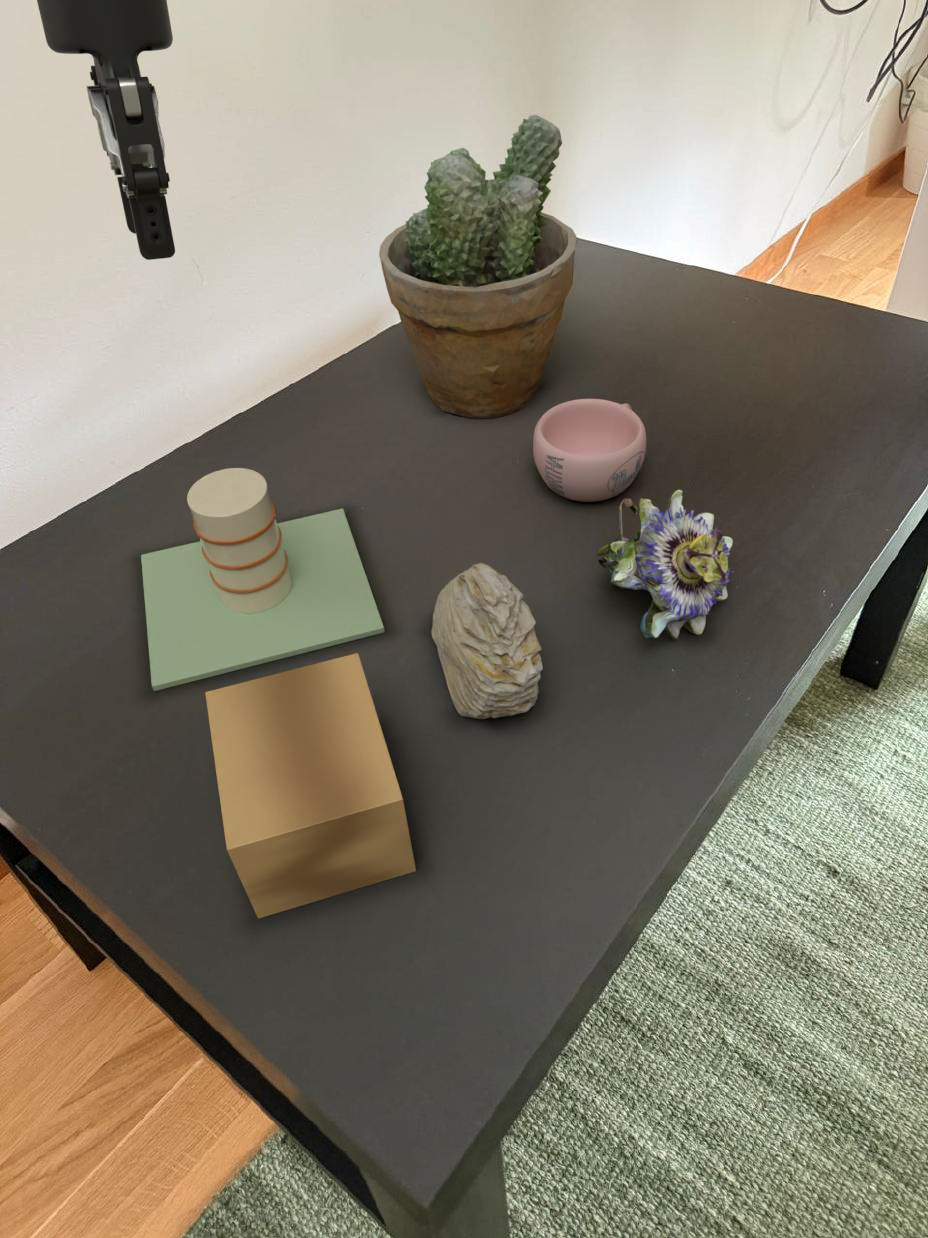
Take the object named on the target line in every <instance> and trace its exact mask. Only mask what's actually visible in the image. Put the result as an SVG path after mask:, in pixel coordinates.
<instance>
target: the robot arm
mask: <svg viewBox="0 0 928 1238" xmlns="http://www.w3.org/2000/svg"><path fill="white" fill-rule="evenodd" d="M36 2H37V8H38V11H39V15H40V18H41V24H42V28H43V29H42V30H43V32H44V37H45V41H46V45H47V46H48V47H49V49H50V50H51V51H53V52H55V53H56V54H65V55H84V54H85V55H87V54H88V55H91V57H92V58H93V59H92V60H93V65H90V71H89V76H90V80H91V81H93V85H86V92H87V96H88V97H87V98H88V102H89V105H90V109H91V113H92V116H93V117H94V119H95V120H96V124H97V130H98V134H99V138H100V143H101V146H102V149H103V151H105V152H106V156H107V157H108V158H109V161H110V162H109V164H110V165H109V166H110V170H111V171H113V173H114V174H113V175H114V176H117V177H116V180H117V183H118V189H119V195H120V198H121V203H122V208H123V212H124V216H125V223H126V226H127V229H128V230H129V232H131V233H132V234H134V235H135V236H136V241H137V245H138V246H137V247H138V250H139V254H140V255H141V257H142V258H143V259H145V260H146V261H147V260H148V261H151V260H161V259H169V258H172V257H174V256H175V253H176V247H175V242H174V236H173V235H174V234H173V230H172V225H171V219H170V215H169V208H168V204H167V199H166V198H167V197H166V195H168V189H169V188H170V187H169V183H170V182H171V179H170V174H169V172H167V168H166V167H167V166H166V163H165V159H166V149H165V141H164V135H163V133H162V129H161V125H160V120H159V117H160V110H159V99H158V96H157V92H156V87H155V85H152V83H150V80H149V77H148V76H142V73H141V70H140V65H139V62H138V58H139V55H140V54H141V53H142V52H143V53H144V52H154V51H162V50H163V51H164V50H166V49H169V48H170V47H171V46H172V44H173V41H174V36H173V29H172V24H171V20H170V18H171V17H170V13H169V6H168V0H36Z"/></svg>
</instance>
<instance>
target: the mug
mask: <svg viewBox="0 0 928 1238" xmlns="http://www.w3.org/2000/svg"><path fill="white" fill-rule="evenodd" d="M632 409H633V408H632V406H631V405H630V404H629V403H621V404H620V403H618V402H615V401H611V400H607V399H601V398H579V399H573V400H568V401H565V402H561V403H559V404H557V405H555V406H553V407H551V408H549V409H548V410H547V411H545V412H544V414H542V415H541V417H540V418H539V419H538V420H537V422H536V424H535V427H534V431H533V435H532V436H533V438H532V455H533V460H534V463H535V466H536V469H537V470H538V473H539V475H540V476H541V479H542V480H543V482H544V483H545V484H546V485H547V487H548V488H549V489H550V490H551V491H553V492H554V493H555V494H556V495H559V496H561V497H563V498H566V499H568V500H570V501H577V502H580V503H581V502H583V503H593V502H601V501H606V500H609V499H612V498H615V497H616V496H618V495H620V494H622V493H623V492H624V491H625V490H627V488H629V486H631V485H632V483H633V481H635V479H636V477H637V475H638V474H639V472H640V470H641V469H642V467H643V463H644V461H645V456H646V451H647V433H646V428H645V425H644V422H643V421H642V419H641V417H639V415H637V413H636V412H635V411H633V410H632Z"/></svg>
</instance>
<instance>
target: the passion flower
mask: <svg viewBox="0 0 928 1238" xmlns="http://www.w3.org/2000/svg"><path fill="white" fill-rule="evenodd" d="M682 502H683V490H681V489H677V490H675V491H674V492H673V493H672V494H671V495H670V496H669V498H668V500H667V502H666V510H665V512H664V511H662V512H660V509H659V508H658V507H657V506H654V505H653V503H652V500H651V499H649V498H643V497H641V498H639V500H638V507H639V509H638V507H637V506H636V505H635V503H634V501H633V499H632V498H623V499H622V501H621V503H620V504H619V506H618V526H619V527H618V530H619V536H618V537H617V538H615V539H614V540H612V541H611V542H609V543H607V544H606V545H604V546H601V548H600V549H599V550H598V551H597V553H596V555H597V557H601V556H602V558H601V559H598V560H597V563H598V564H599V565H600V566H602V568H604V569H606V570H608V572H609V573H610V578H611V579H610V584H611V586H615V587H616V588H619V589H627V590H633V591H638V590H641V591H642V590H643V591H646V592H648V593H649V594H650V595H651V597H652V602H651V605H650V607H649V609H648V610H647V612H645V613H644V615H643V616H642V619H641V622H640V631H641V634H642V636H643V637H644V638H645V639H646V640H654V639H657V638H659V636H660V635H661V634H662V633H663V631H664V632H665V633H666V635H668V636H669V638H671V639H672V640H674V641H677V639H678V638H679V635H680V633H681V632H680V631H681V629H682V628H683V627H684V628H685V629H686V630H687V631H688V632H690V633H691V634H693V635H696V636H701V635H702V634H703V632H704V630H705V628H706V619H707V616H708V615H709V614H710V611H711V610H712V606H714V605H716V604H717V602H721V601H722V602H723V601H725V600H727V599H728V597H729V594H728V590H727V585H728V583H729V582H731V581H732V579H730V578H729V575H730V573H736V572H735V570H731V567H729V559H728V558H729V557H730V556H731V553H730V550H731V549H732V547H733V543H734V540H733V537H730V536H728V535H727V536H724V535H723V533H722V531H721V530H719V529H718V526H716V527H715V528H713V527H714V523H715V522H714V521H715V515H714V513H711V512H700V513H698V514H696V510H693V509H691V510H690V511H689V513H687V514H686V512H687V509H686V508H685V509H684V506H683V504H682ZM623 505H625V507H626V508H627V509H628V508H629V509H630V512H631V514H632V516H633V517H636V516H637V514H638V512H639V514H638V515H639V521H640V530H639V531H636V530H635V531H634V534H633V539H631V538H626V537H624V535H623V534H624V533H623V532H624V531H623V525H624V524H623V519H622V518H623ZM695 514H696V515H695ZM618 551H619V554H618ZM607 554H608V556H607V557H606V556H604V555H607ZM614 561H615V562H616V564H615V565H612V563H613V562H614Z"/></svg>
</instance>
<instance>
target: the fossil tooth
mask: <svg viewBox="0 0 928 1238" xmlns="http://www.w3.org/2000/svg"><path fill="white" fill-rule="evenodd" d="M523 598H524V594H523V592H521V591H520V589H519V588H518V587H516V586H515V585H514V584H513V582H511V581H510V580H509V578H508V577H507V576H506V575H505V574H501V573H499V572H498V571H497V570H495V568H493V567H492V566H491V565H488V564H485V563H483V562H479V563H475V564H472V566H471V567H469V568H468V569H465V570H464V571H463V572H460V573H459V574H457V576H455V577H454V578H452V579H451V580H450V581H449V582H448V583H447V584H446V585H445V586H444V588H442V589H441V591H440V592H439V593H438V596H437V598H436V603H435V605H434V611H433V614H432V627H431V638H432V639H433V641H434V644H435V645H436V647H437V653H438V658H439V661H440V664H441V668H442V670H443V674H444V677H445V681H446V682H445V683H446V686H447V688H448V692H449V695H450V698H451V702H452V704H453V706H454V708H455V710H456V713H458V715H460V716H461V717H464V718H471V719H477V720H485V719H488V718H492V719H497V718H503V717H512V716H514V715H518V714H523V713H527V712H529V710H530V709H532V707H534V706H535V704H536V702H537V700H538V699H539V697H538V694H539V693H540V690H539V684H538V683H539V681H540V679H541V672H542V671H543V669H544V668H543V662H542V657H541V655H540V653H539V652H540V651H541V650H542V647H541V645H540V641H539V639H538V637H537V635H536V634H537V633H536V629H535V626H536V624H537V621H536V619H535V618H534V616H533V613H532V611H531V609H530V607H529V605H528V604H527V603H526V602H525V601H524V600H523Z"/></svg>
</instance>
